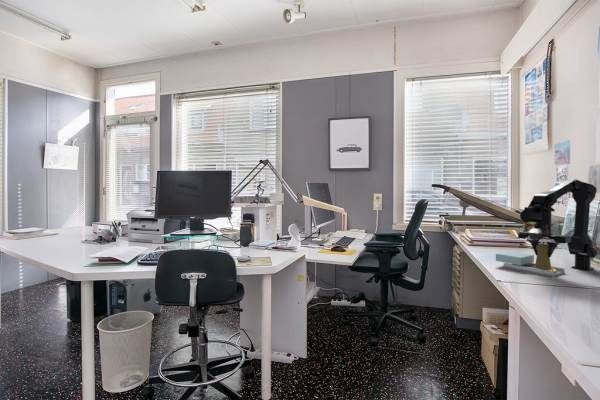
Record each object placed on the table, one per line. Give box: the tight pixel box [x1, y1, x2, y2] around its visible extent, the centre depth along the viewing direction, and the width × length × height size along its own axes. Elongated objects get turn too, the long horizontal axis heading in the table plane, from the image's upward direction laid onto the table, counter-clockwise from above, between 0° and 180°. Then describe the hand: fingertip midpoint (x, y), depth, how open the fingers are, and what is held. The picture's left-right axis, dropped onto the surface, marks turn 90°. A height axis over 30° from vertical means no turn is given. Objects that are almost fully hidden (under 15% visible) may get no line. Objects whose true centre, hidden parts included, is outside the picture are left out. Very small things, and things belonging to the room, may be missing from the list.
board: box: [502, 262, 566, 278], centre depth 152 cm, size 12×20×2 cm, turn 30°
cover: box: [495, 251, 535, 265], centre depth 159 cm, size 12×12×4 cm
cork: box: [535, 243, 552, 270], centre depth 149 cm, size 6×6×11 cm
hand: (543, 256), depth 149 cm, fingers closed on cork, 5 cm apart
